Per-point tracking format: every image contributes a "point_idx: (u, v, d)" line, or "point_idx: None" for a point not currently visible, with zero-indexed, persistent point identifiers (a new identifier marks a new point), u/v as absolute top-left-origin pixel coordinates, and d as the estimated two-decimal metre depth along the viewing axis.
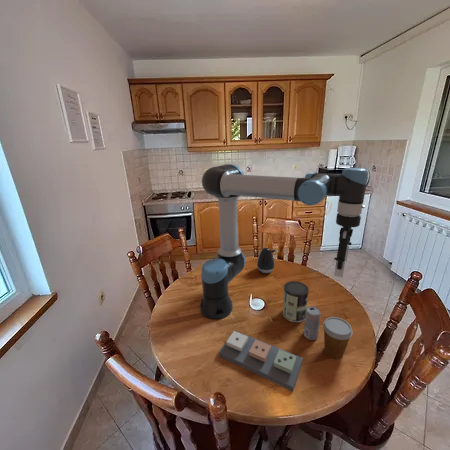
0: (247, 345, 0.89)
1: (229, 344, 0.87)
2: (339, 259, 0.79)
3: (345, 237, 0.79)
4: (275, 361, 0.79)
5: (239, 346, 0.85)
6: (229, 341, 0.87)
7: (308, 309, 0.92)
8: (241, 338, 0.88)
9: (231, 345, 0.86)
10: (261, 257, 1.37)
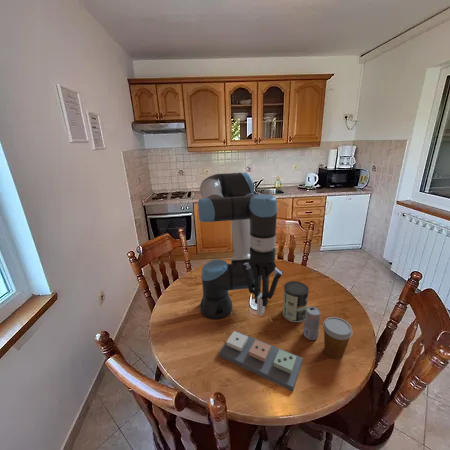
0: (247, 345, 0.89)
1: (229, 344, 0.87)
2: None
3: None
4: (275, 361, 0.79)
5: (239, 346, 0.85)
6: (229, 341, 0.87)
7: (308, 309, 0.92)
8: (241, 338, 0.88)
9: (231, 345, 0.86)
10: None
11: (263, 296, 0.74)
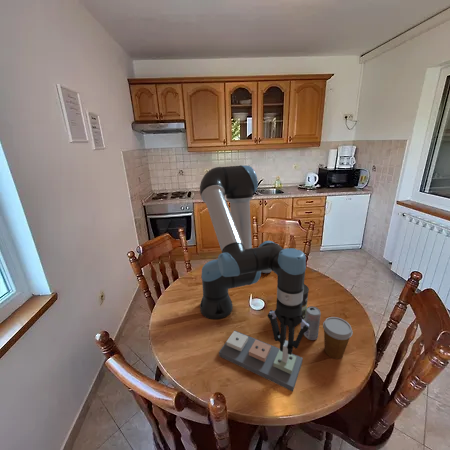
0: (247, 345, 0.89)
1: (229, 344, 0.87)
2: None
3: None
4: (275, 361, 0.79)
5: (239, 346, 0.85)
6: (229, 341, 0.87)
7: (308, 309, 0.92)
8: (241, 338, 0.88)
9: (231, 345, 0.86)
10: None
11: (289, 345, 0.75)
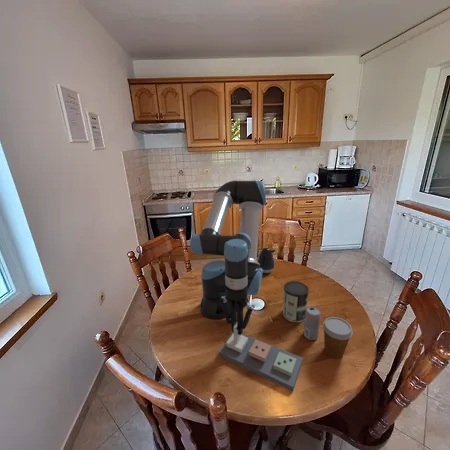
0: (247, 345, 0.89)
1: (229, 345, 0.87)
2: None
3: None
4: (275, 364, 0.79)
5: (239, 347, 0.85)
6: (229, 342, 0.87)
7: (308, 309, 0.92)
8: (241, 339, 0.88)
9: (231, 346, 0.86)
10: (261, 257, 1.37)
11: (238, 326, 0.84)
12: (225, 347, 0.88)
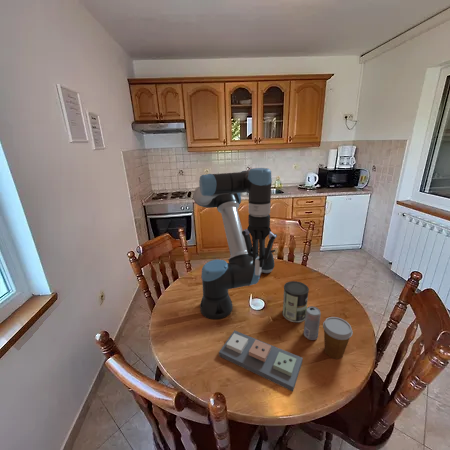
0: (247, 345, 0.89)
1: (229, 346, 0.87)
2: None
3: None
4: (275, 364, 0.79)
5: (239, 348, 0.85)
6: (229, 343, 0.88)
7: (308, 309, 0.92)
8: (241, 340, 0.89)
9: (231, 347, 0.87)
10: None
11: (260, 257, 0.86)
12: (225, 347, 0.88)
